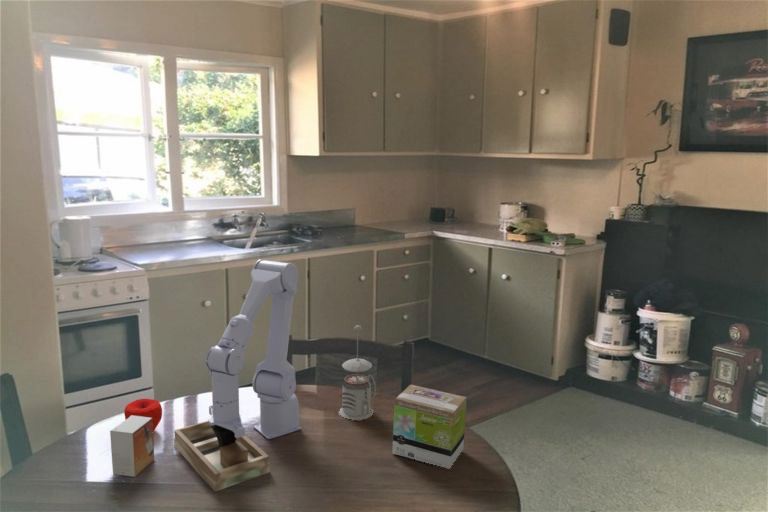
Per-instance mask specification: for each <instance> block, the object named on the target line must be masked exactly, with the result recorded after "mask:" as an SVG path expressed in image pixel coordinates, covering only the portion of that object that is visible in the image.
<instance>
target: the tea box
mask: <svg viewBox="0 0 768 512" xmlns="http://www.w3.org/2000/svg"><path fill="white" fill-rule="evenodd" d="M467 400H468V398H467V396H464V395H458V394H454V393H450V392H445V391H441V390H436V389H434V388H433V389H432V388H428V387H424V386H419V385H415V384H409V385H407V387H406V388H405V389H404V390H403V391H402V392H401V393H400V394H398V396H397V397H396V398H394V403H393V404H394V406H393V407H394V408H393V424H392V425H393V427H392V428H393V429H392V455H397V456H401V457H405V458H409V459H411V460H414V459H415V460H414V461H419V462H422V463H424V462H425V463H426V464H428V463H429V464H428V465H431V464H433V465H432V466H435V465H437V466H436V467H438V466H441V467H447V468H451V469H452V467H453V466H454V464H455V463H456V462H455V461H457V460H458V459H457V457H458V456H459V455H460V456H461V454H462V453H463V451H464V443H465V430H466V417H467V416H466V415H467ZM462 450H463V451H462ZM461 452H462V453H461ZM460 453H461V454H460ZM460 456H459V457H460ZM459 457H458V458H459ZM456 459H457V460H456ZM454 462H455V463H454ZM453 463H454V464H453ZM452 465H453V466H452ZM451 466H452V467H451ZM441 467H440V468H441Z"/></svg>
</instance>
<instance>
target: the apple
mask: <svg viewBox="0 0 768 512" xmlns="http://www.w3.org/2000/svg"><path fill="white" fill-rule="evenodd" d="M123 412H124V413H123V414H124V419H125V420H126V419H128V418H129V417H130V416H131V415H133V416H141V417H149V418H152V419H153V432H155V430H156V428H157V427H158V426H159V424H160V423H161V420H162V416H163V407H162V403H161V402H159V400H157V399H152V398H140V399H136V400H133V401H131V402H128V404H126V406H125V407H124V411H123ZM125 420H124V421H125Z"/></svg>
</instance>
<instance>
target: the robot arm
mask: <svg viewBox="0 0 768 512" xmlns="http://www.w3.org/2000/svg"><path fill="white" fill-rule="evenodd" d="M299 273H300V271H299V270H298V269H297V266H296V265H295V264H294V263H293V262H282V261H274V260H267V259H263V258H260V259H258V260H257V261H255V263H254V265H253V267H252V270H251V271H250V281H251V282H250V283H251V285H250V288H249V290H248V292H247V295H246V297H245V299H244V301H243V304H242V306H241V309H240V311H239V314H238V315H235V316H232V317H231V319H230V320H229V323H228V324H227V326H226V328H225V330H224V332H223V334H222V336H221V338H220V339H219V342H218V344H216V345H214V346H212V347H211V348H210V349H209V351H208V352H207V354H206V360H205V361H204V363H205V364H204V365H205V368H206V370H208V375H209V376H208V377H209V378H210V379H211V396H212V397H211V398H212V405H209V406H208V412H209V413H208V414H209V415H210V416H211V418H209V419H207V421H208V423H209V424H210V425H212V426H211V428H212V429H213V431H214V433H215V435H216V437H217V439H218V443H219V446H220V447H223V446H226V445H229V444H232V443H235V442H236V439H237V438H239V437H242V436H246V430H245V429H246V427H244V425H243V422H242V421H243V420H242V418H241V414H240V392H239V390H240V388H239V387H240V386H239V372H240V371H241V369H242V368H243V367H244V363H245V355H246V352H247V351H246V347H247V345H248V343H249V340H250V339H251V337H252V336H253V333H254V331H255V325H254V320H255V318H256V317H257V315H258V313H259V312H260V310H261V309H262V307H263V306H264V304H265V303H266V301H267V299H268V297H269V296H270V297H271V298H272V299H271V307H270V308H271V309H270V316H269V326H268V336H267V345H266V353H265V359H264V360H262V361H261V362H259V363H258V364H257V365H256V367H255V368H256V369H255V373H254V375H253V379H252V383H251V384H252V385H251V386H252V390H253V392H254V393H255V394H256V395H257V398H258V399H259V413H260V415H259V416H260V417H259V418H260V419H259V421H260V423H259V424H255V425H254V426H253V428H254V430H256V431H257V432H258V433H260V434H261V435H262V436H263V437H264V438H265V439H267V440H271V439H274V438H278V437H282V436H284V435H287V434H290V433H293V432H296V431H299V430H301V429H302V427H301V426H300V404H299V400H298V397H297V395H296V393H295V392H296V389H297V381H296V369H295V368H294V366H293V365H292V364H290V362H289V361H288V360H287V359H288V358H287V357H288V352H289V351H288V349H289V341H290V331H291V322H292V315H293V313H292V312H293V305H294V304H293V303H294V296H295V295H297V292H298V283H299Z"/></svg>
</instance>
